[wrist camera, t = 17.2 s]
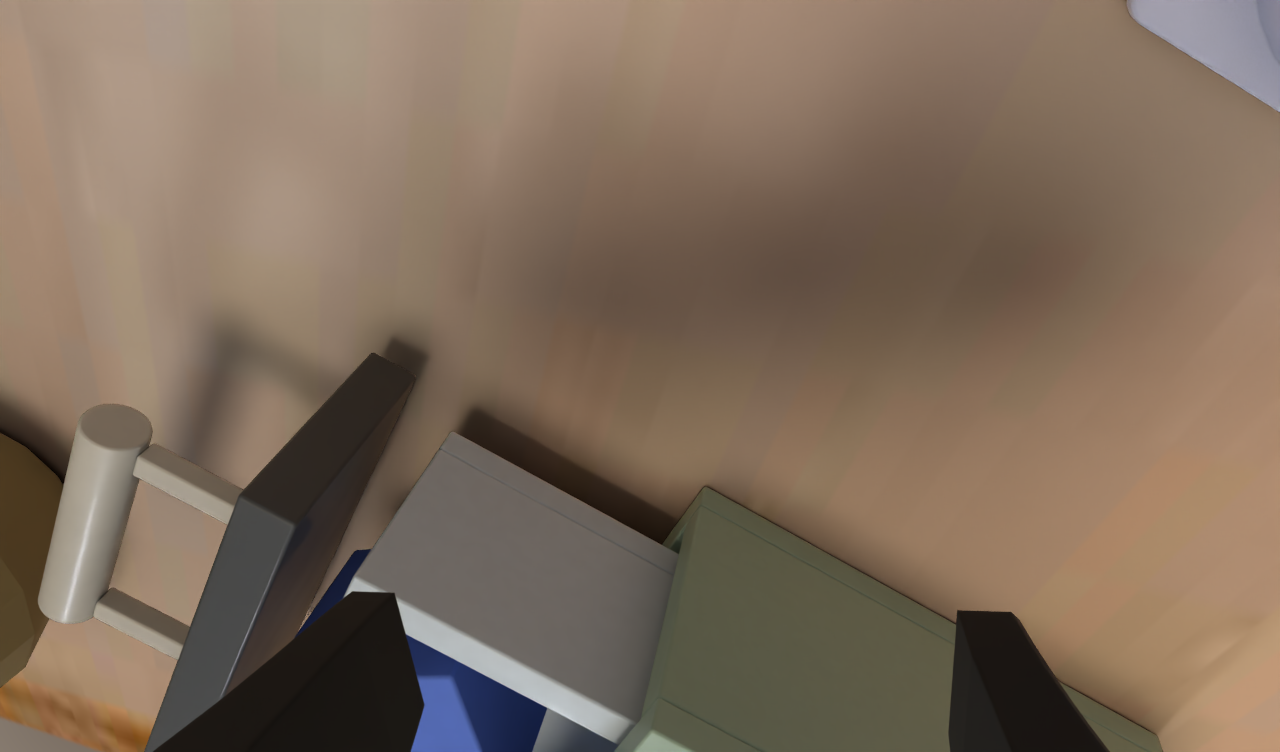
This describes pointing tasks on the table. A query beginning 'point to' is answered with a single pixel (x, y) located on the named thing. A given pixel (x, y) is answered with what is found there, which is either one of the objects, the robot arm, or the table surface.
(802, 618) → the drawer cabinet
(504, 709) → the blue rounded cube
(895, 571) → the table surface
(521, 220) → the table surface
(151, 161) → the table surface
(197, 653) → the grey drawer
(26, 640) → the squeeze bottle
